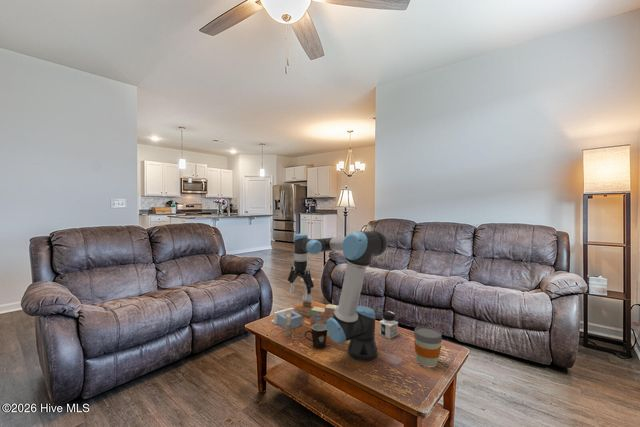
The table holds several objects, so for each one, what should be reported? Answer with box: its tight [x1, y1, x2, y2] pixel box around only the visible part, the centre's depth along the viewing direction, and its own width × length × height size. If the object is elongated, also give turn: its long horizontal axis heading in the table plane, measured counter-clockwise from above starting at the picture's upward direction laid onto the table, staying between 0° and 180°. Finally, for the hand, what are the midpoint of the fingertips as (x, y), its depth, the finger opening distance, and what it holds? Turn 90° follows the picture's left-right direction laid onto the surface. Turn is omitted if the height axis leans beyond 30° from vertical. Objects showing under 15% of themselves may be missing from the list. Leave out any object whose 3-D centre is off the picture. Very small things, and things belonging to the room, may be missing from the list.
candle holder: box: [295, 276, 316, 319], centre depth 191 cm, size 11×11×24 cm
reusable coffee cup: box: [413, 326, 443, 366], centre depth 135 cm, size 12×13×15 cm
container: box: [378, 310, 399, 339], centre depth 163 cm, size 8×8×13 cm
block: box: [277, 310, 303, 330], centre depth 174 cm, size 11×11×6 cm
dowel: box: [284, 311, 292, 338], centre depth 159 cm, size 3×3×14 cm
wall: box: [270, 307, 295, 325], centre depth 180 cm, size 5×14×7 cm, turn 130°
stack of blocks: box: [310, 303, 339, 325], centre depth 174 cm, size 21×6×12 cm, turn 70°
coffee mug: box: [304, 324, 328, 350], centre depth 149 cm, size 12×9×10 cm
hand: (299, 296), depth 164 cm, fingers open, 13 cm apart
